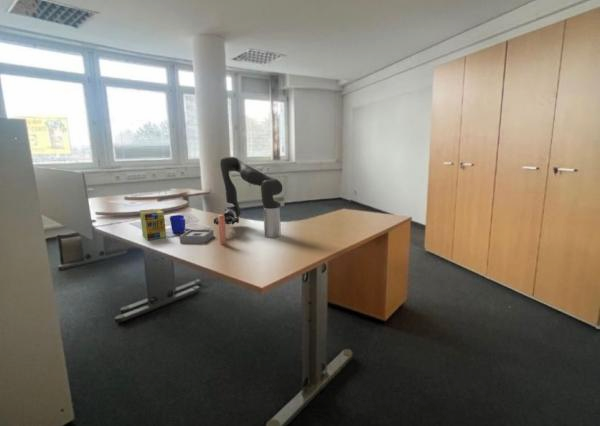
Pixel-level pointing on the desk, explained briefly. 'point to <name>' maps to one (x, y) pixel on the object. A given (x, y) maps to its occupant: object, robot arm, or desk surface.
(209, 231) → the grey square hole base
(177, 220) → the mug
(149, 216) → the protein box
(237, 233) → the desk surface
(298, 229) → the desk surface
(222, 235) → the peg
